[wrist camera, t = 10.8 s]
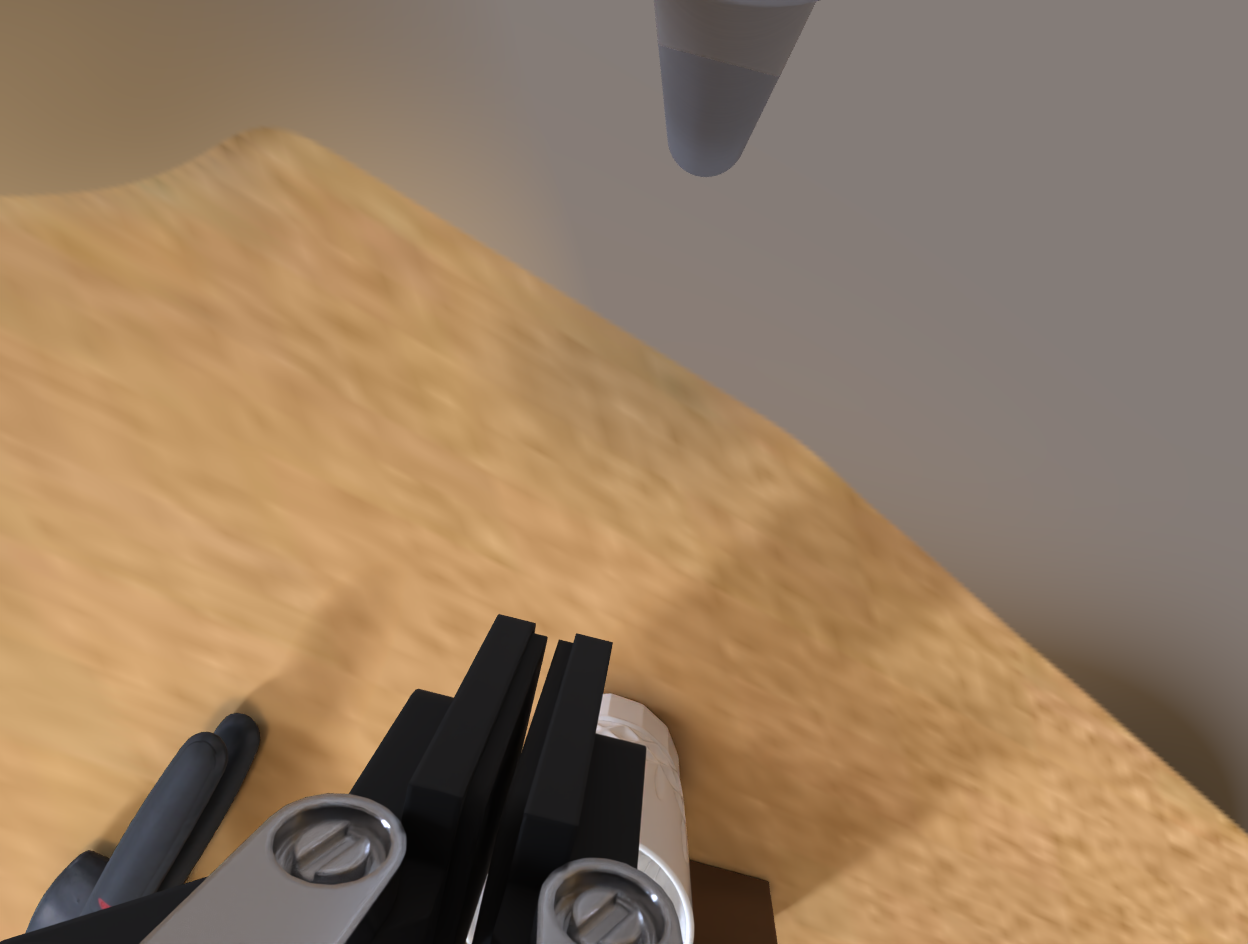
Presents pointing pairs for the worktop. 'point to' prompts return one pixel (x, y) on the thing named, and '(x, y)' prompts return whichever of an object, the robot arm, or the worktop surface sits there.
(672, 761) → the white cup
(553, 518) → the worktop surface
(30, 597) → the worktop surface
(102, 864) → the can opener
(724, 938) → the walnut rail
